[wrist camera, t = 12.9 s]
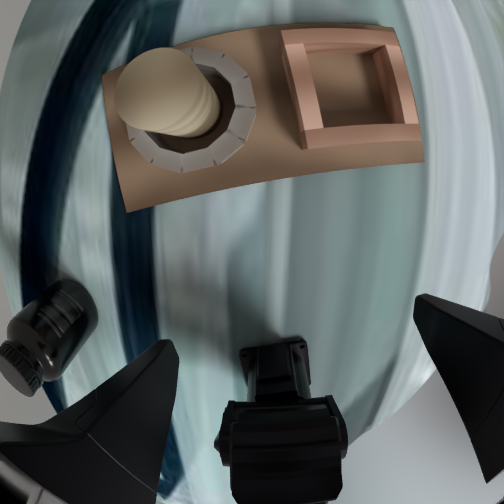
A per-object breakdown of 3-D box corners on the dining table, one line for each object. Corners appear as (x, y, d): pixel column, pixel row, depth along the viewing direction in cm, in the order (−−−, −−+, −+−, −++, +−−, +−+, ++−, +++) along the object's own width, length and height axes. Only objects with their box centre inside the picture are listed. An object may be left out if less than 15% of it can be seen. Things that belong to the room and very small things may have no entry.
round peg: (228, 131, 17) (206, 114, 10) (173, 145, 18) (121, 141, 10) (217, 80, 16) (190, 36, 9) (164, 95, 16) (110, 67, 9)
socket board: (417, 161, 19) (442, 164, 15) (133, 209, 21) (111, 220, 17) (387, 32, 15) (406, 17, 11) (108, 78, 17) (85, 68, 13)
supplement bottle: (44, 282, 23) (-24, 339, 12) (83, 272, 23) (5, 341, 12) (69, 333, 26) (16, 400, 14) (110, 330, 25) (56, 411, 14)
